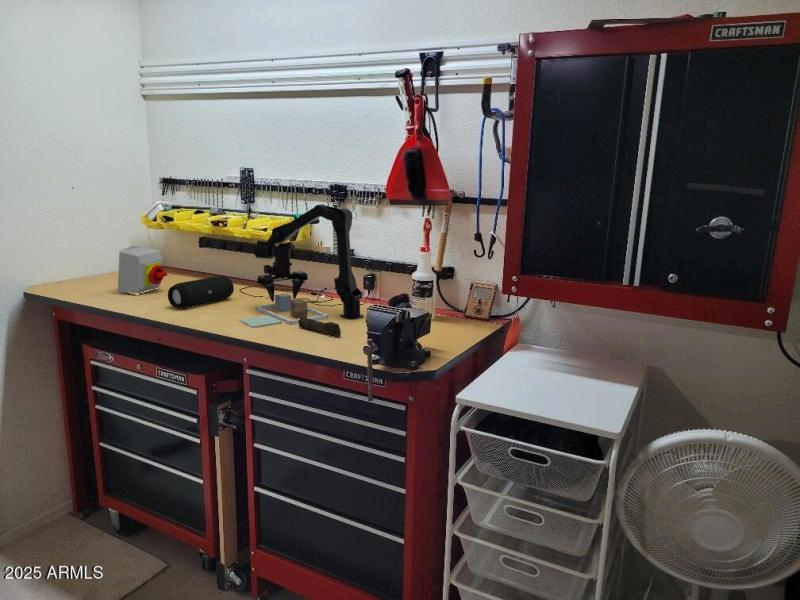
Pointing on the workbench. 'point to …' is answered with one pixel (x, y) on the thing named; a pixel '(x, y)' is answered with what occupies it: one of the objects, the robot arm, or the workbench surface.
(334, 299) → the workbench surface
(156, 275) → the electrical switch box
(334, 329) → the hand tool
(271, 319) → the mat
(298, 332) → the workbench surface
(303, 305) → the plain box
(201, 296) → the portable speaker
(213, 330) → the workbench surface
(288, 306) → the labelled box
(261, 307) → the flat rectangular frame
